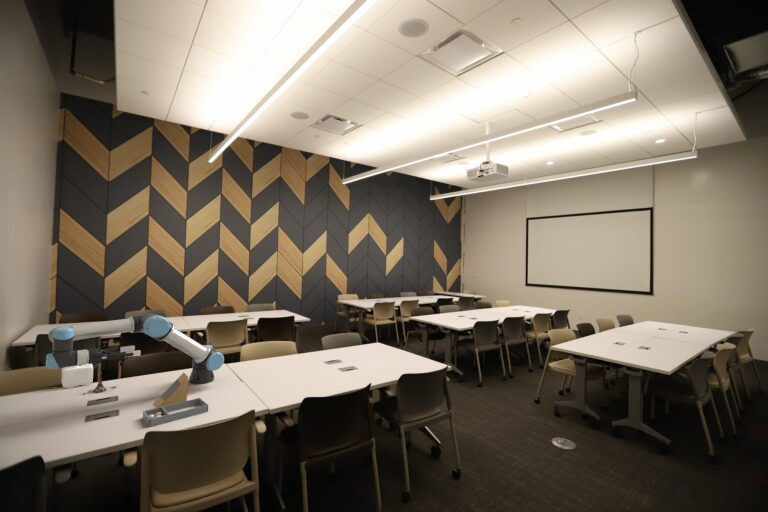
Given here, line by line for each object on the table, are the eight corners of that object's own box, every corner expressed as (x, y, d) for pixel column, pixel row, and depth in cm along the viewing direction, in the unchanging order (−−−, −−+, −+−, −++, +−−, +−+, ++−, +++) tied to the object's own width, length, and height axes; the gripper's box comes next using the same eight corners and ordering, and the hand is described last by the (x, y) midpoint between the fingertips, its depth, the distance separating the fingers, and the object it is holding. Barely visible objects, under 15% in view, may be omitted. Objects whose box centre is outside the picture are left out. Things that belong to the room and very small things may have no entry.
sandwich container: (152, 404, 198) (153, 377, 198) (182, 397, 209) (183, 371, 209) (155, 409, 192) (156, 381, 192) (186, 402, 203) (188, 375, 203)
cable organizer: (60, 389, 214) (61, 370, 214) (61, 384, 222) (62, 366, 222) (92, 384, 224) (93, 366, 224) (92, 380, 232) (93, 362, 232)
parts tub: (199, 404, 200) (199, 397, 200) (208, 411, 191) (208, 404, 191) (142, 418, 181) (143, 411, 181) (149, 426, 172) (149, 419, 172)
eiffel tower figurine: (117, 387, 222) (118, 365, 222) (113, 392, 213) (114, 370, 213) (86, 390, 215) (87, 368, 216) (81, 396, 206) (83, 373, 207)
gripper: (84, 358, 190) (132, 352, 205) (90, 369, 173) (142, 362, 188) (84, 344, 190) (132, 339, 205) (91, 354, 173) (143, 347, 188)
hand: (137, 350), depth 197 cm, fingers open, 13 cm apart
